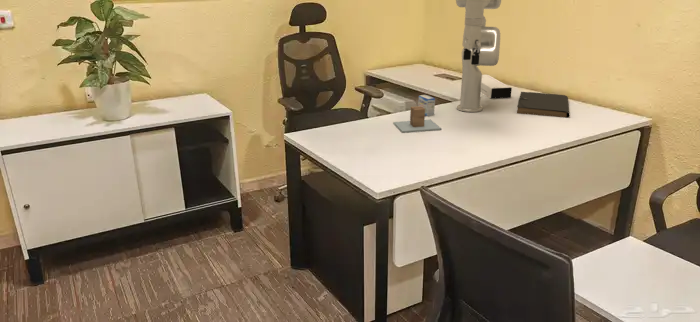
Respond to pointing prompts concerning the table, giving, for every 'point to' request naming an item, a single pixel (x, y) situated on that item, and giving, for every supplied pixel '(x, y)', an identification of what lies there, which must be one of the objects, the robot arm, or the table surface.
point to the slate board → (407, 127)
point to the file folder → (543, 104)
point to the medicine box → (427, 104)
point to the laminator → (494, 88)
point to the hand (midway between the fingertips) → (470, 61)
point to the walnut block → (417, 116)
